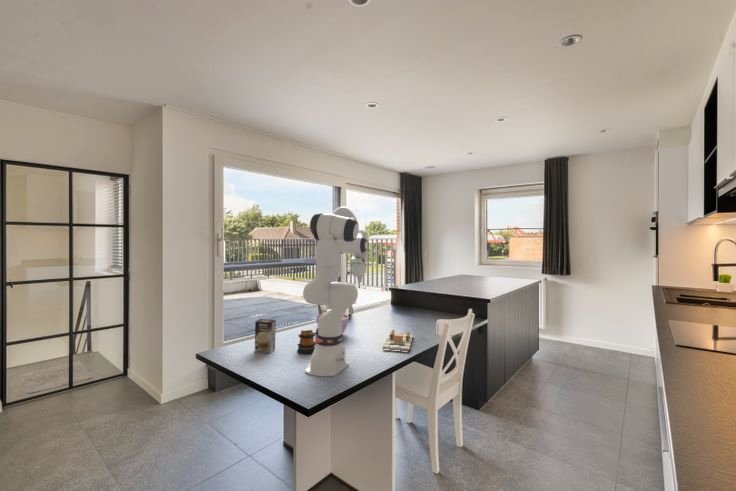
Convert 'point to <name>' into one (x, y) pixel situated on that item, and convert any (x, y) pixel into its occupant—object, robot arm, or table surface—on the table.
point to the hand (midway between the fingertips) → (359, 282)
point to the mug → (307, 342)
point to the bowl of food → (344, 321)
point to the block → (398, 338)
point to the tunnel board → (406, 343)
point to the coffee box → (265, 335)
